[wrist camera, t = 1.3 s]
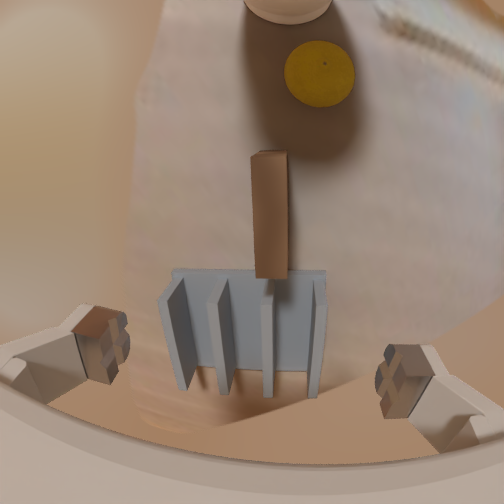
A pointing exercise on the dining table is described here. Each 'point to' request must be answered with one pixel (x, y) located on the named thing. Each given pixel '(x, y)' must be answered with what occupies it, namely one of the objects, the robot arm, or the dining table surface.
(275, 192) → the board
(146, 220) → the dining table surface
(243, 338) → the rack
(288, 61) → the lemon
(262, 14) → the jar
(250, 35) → the dining table surface
